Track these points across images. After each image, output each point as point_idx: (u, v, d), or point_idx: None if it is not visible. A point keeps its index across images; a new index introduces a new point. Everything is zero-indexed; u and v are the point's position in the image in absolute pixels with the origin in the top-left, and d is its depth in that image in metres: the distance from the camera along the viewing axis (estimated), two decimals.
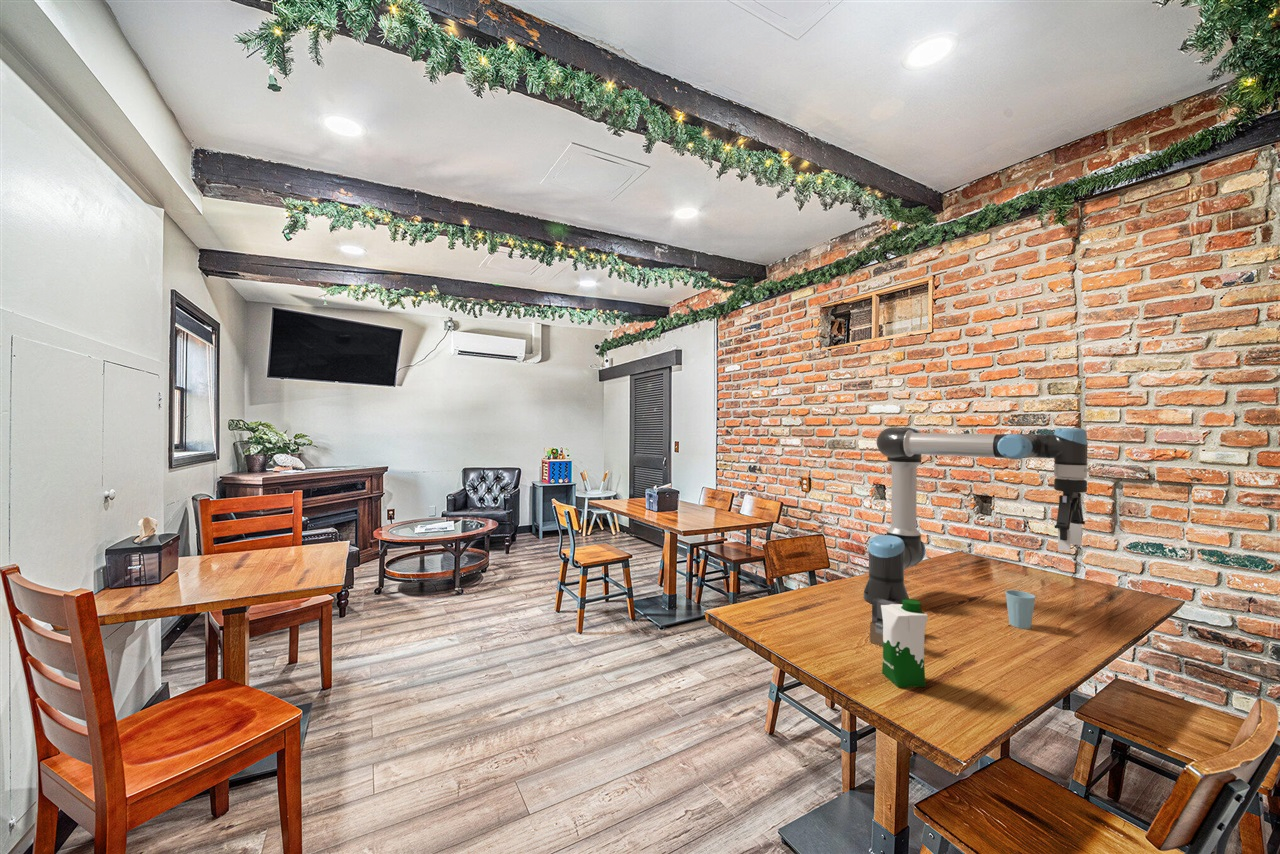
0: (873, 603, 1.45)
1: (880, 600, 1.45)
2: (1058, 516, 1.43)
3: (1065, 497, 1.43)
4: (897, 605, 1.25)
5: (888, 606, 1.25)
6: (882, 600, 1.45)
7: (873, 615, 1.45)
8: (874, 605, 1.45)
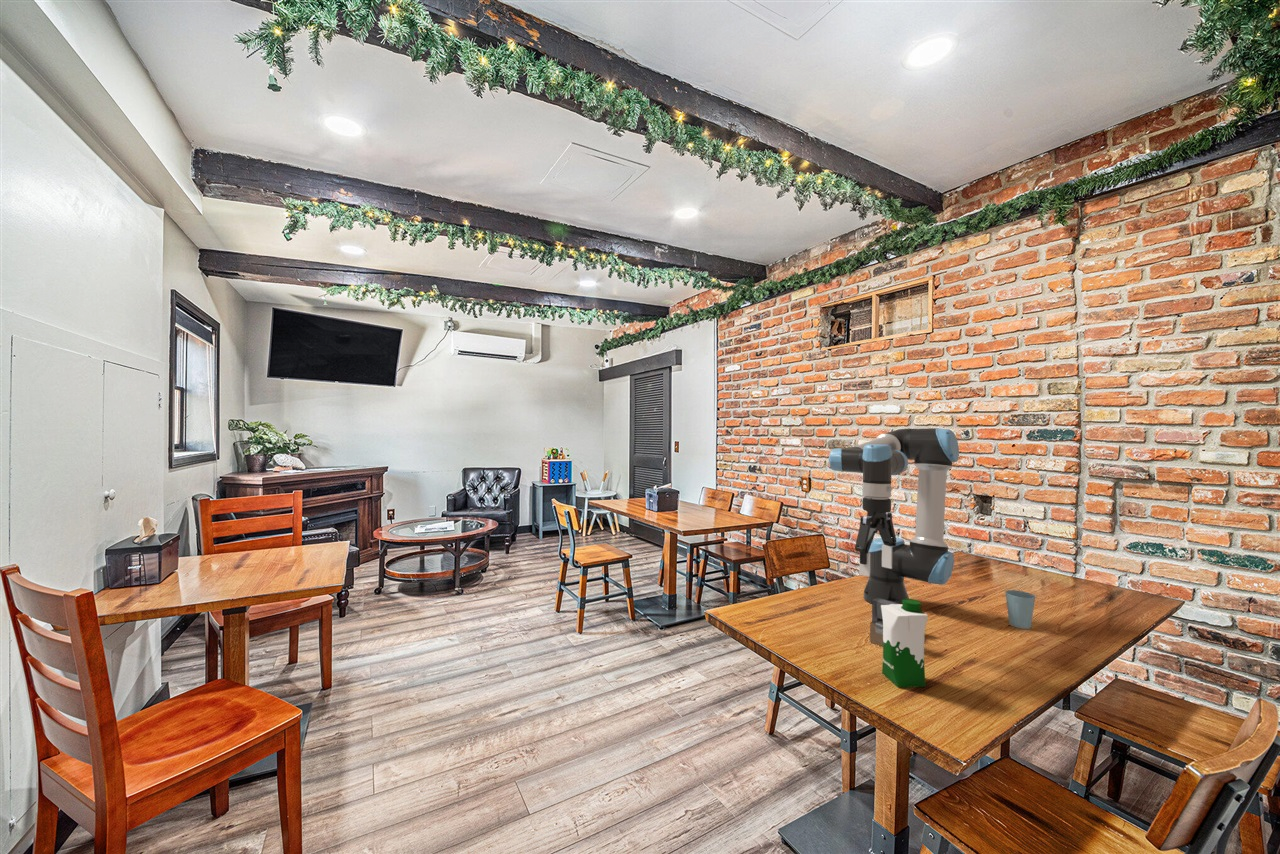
0: (873, 603, 1.45)
1: (880, 600, 1.45)
2: (857, 538, 1.35)
3: (864, 518, 1.35)
4: (897, 605, 1.25)
5: (888, 606, 1.25)
6: (882, 600, 1.45)
7: (873, 615, 1.45)
8: (874, 605, 1.45)
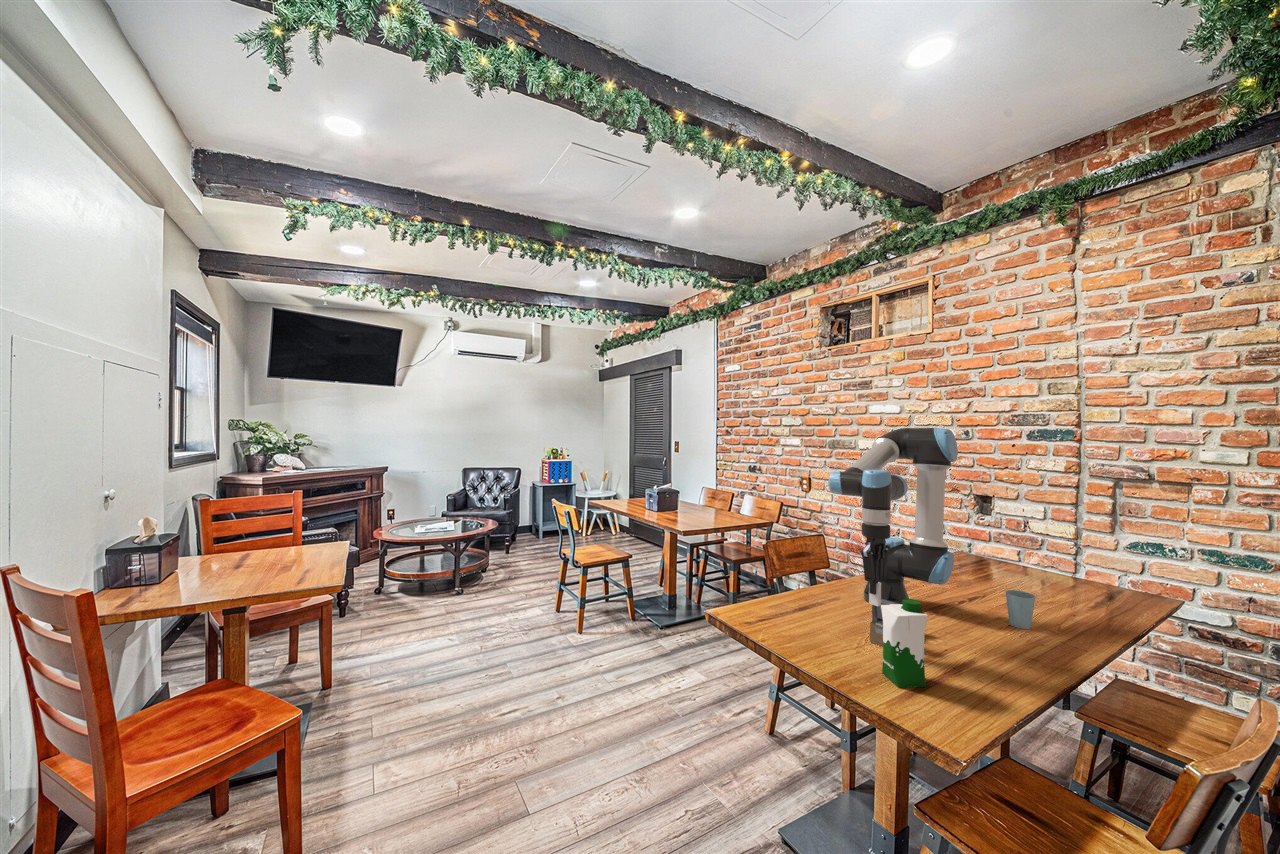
0: None
1: None
2: (864, 571, 1.37)
3: (865, 553, 1.35)
4: (897, 605, 1.25)
5: (888, 606, 1.25)
6: (882, 600, 1.45)
7: (873, 615, 1.45)
8: (874, 605, 1.45)
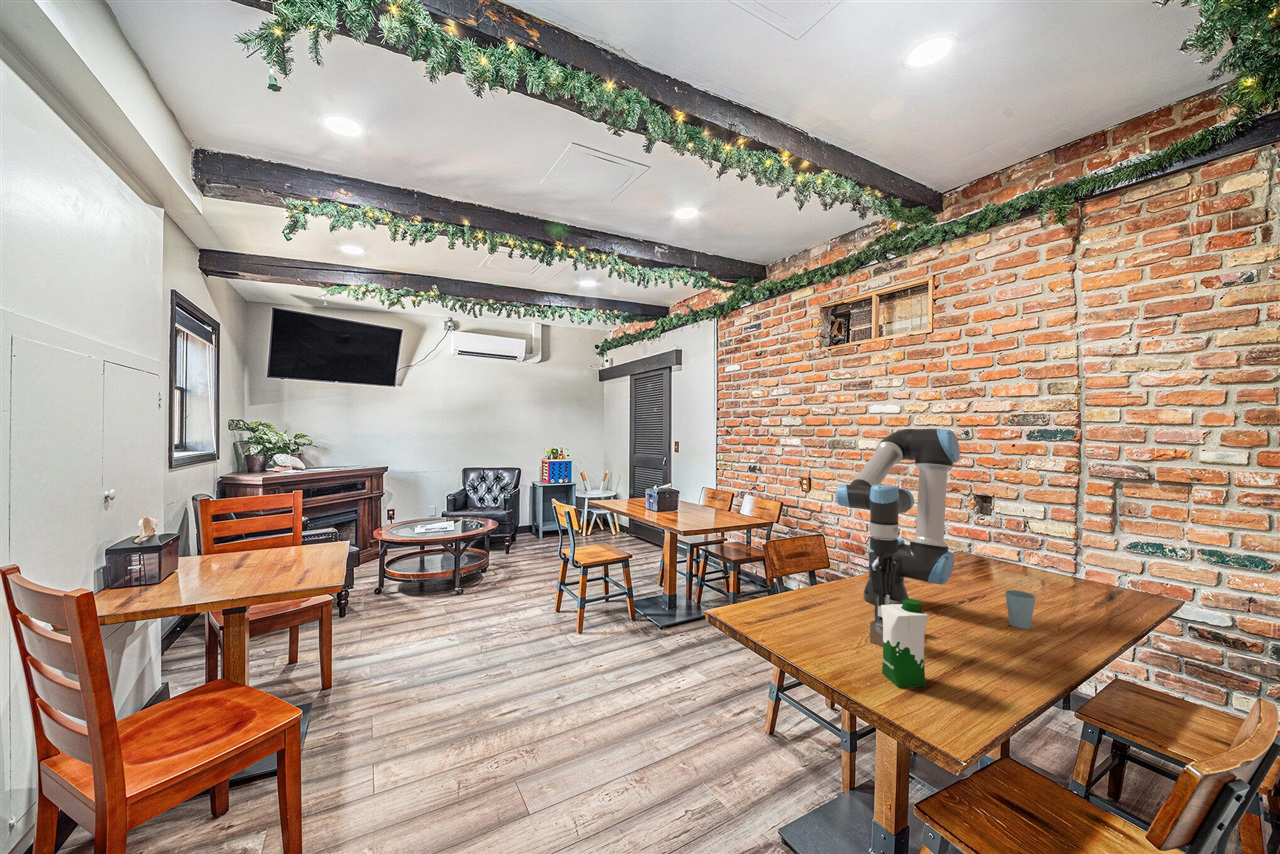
0: (876, 602, 1.46)
1: None
2: (873, 584, 1.41)
3: (873, 567, 1.39)
4: (897, 605, 1.25)
5: (888, 606, 1.25)
6: None
7: (876, 614, 1.46)
8: (877, 604, 1.46)
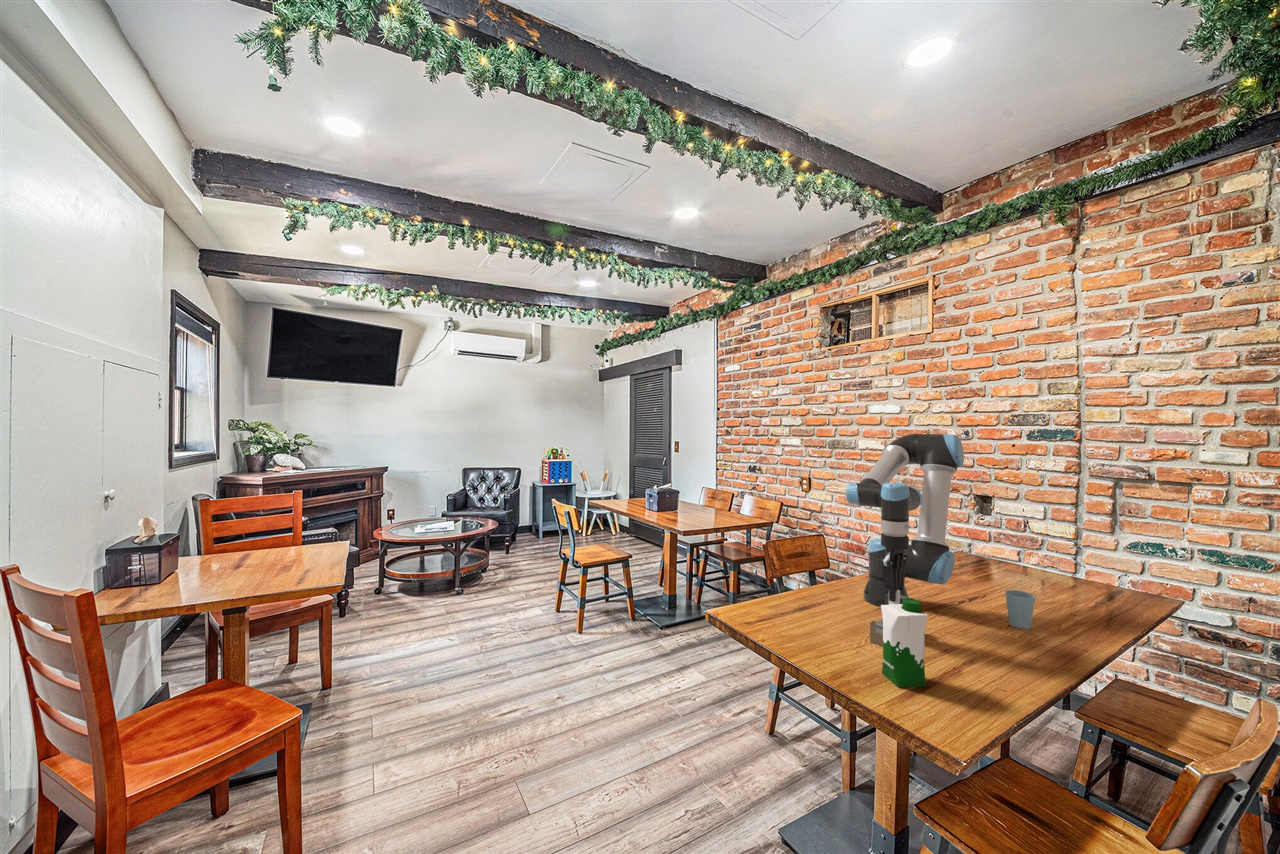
0: (886, 597, 1.50)
1: None
2: (884, 579, 1.45)
3: (885, 563, 1.43)
4: (897, 605, 1.25)
5: (888, 606, 1.25)
6: None
7: None
8: (887, 599, 1.50)
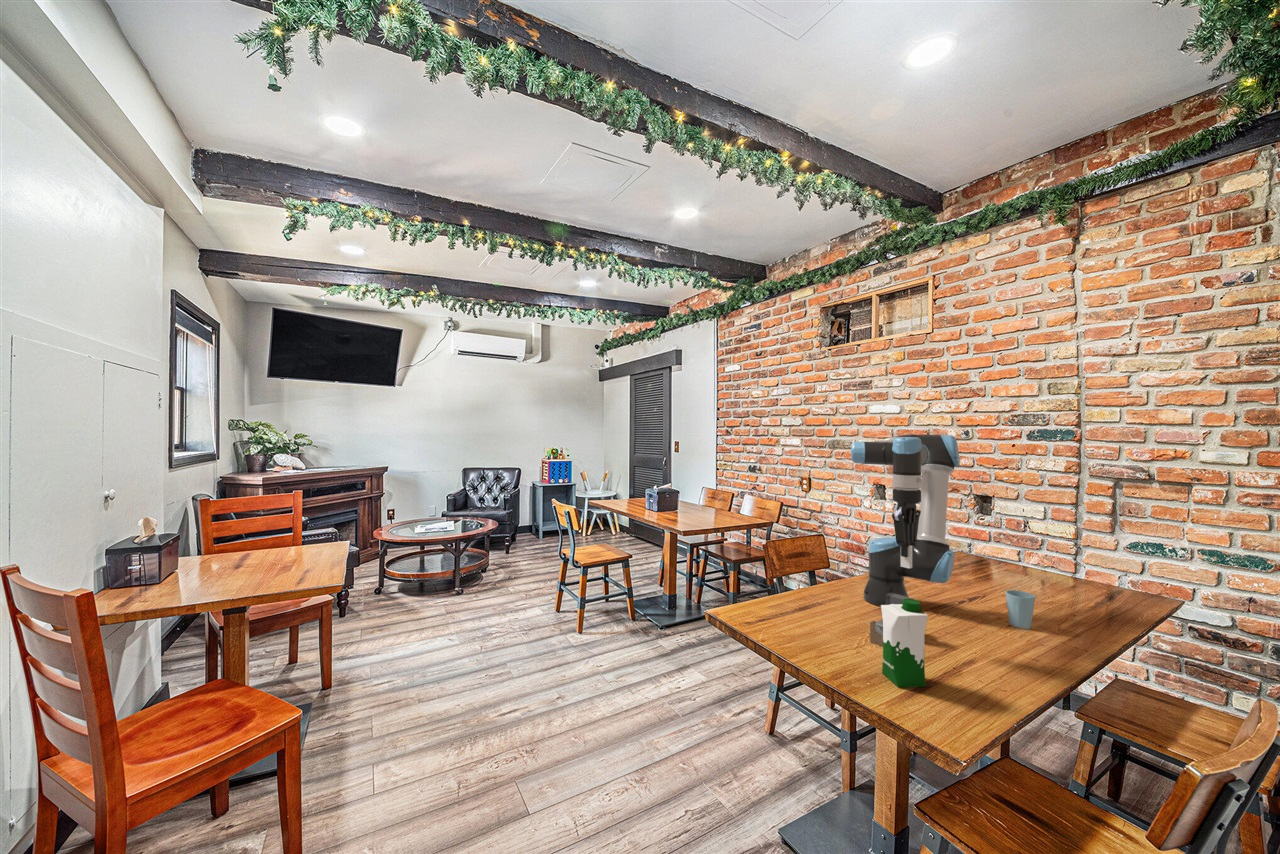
0: (886, 597, 1.50)
1: (893, 595, 1.50)
2: (896, 534, 1.42)
3: (896, 517, 1.40)
4: (897, 605, 1.25)
5: (888, 606, 1.25)
6: (895, 594, 1.50)
7: None
8: (887, 599, 1.50)
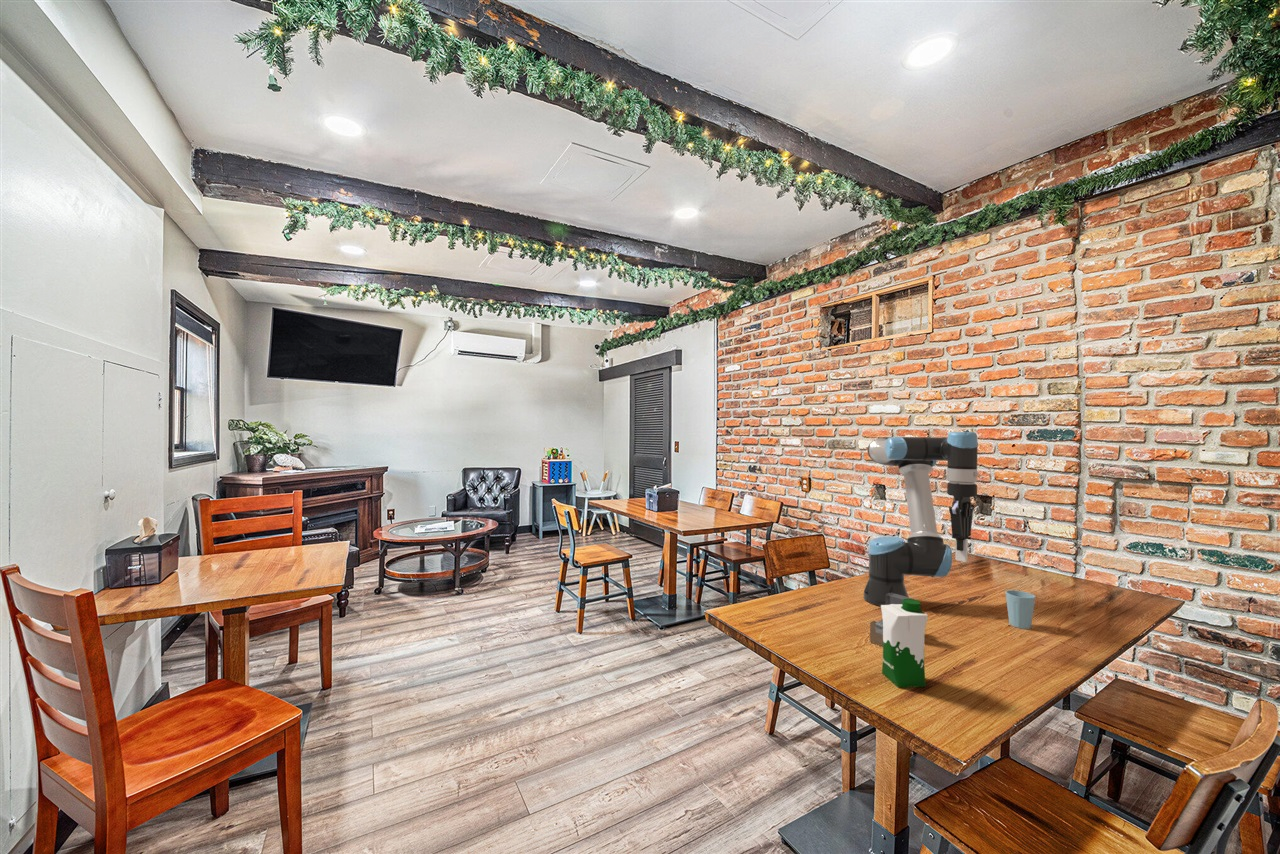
0: (886, 597, 1.50)
1: (893, 595, 1.50)
2: (952, 528, 1.43)
3: (954, 510, 1.41)
4: (897, 605, 1.25)
5: (888, 606, 1.25)
6: (895, 594, 1.50)
7: None
8: (887, 599, 1.50)
